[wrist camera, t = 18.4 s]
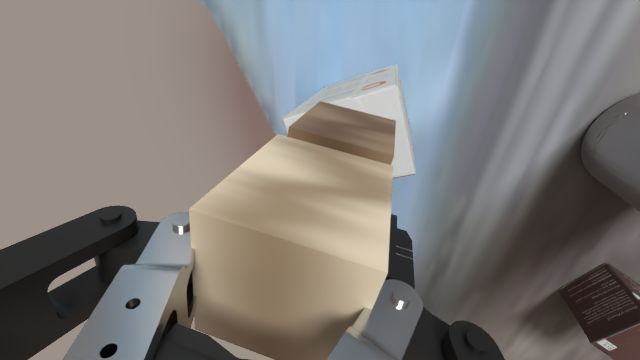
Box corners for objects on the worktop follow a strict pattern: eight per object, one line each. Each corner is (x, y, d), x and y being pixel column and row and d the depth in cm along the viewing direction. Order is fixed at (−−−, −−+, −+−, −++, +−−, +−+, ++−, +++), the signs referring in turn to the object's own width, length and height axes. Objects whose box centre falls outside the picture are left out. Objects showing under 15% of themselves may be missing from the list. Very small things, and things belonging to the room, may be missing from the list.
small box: (339, 141, 33) (308, 195, 22) (322, 86, 31) (278, 116, 20) (411, 123, 30) (417, 176, 19) (398, 62, 28) (397, 80, 17)
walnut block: (395, 120, 18) (394, 155, 13) (373, 187, 20) (364, 240, 15) (320, 101, 19) (288, 126, 13) (307, 168, 21) (276, 212, 16)
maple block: (393, 165, 12) (387, 273, 6) (361, 254, 14) (339, 383, 9) (278, 133, 12) (188, 208, 7) (267, 224, 15) (194, 329, 10)
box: (647, 289, 32) (708, 352, 26) (595, 315, 35) (638, 376, 29) (605, 260, 32) (656, 317, 26) (556, 288, 35) (590, 345, 29)
